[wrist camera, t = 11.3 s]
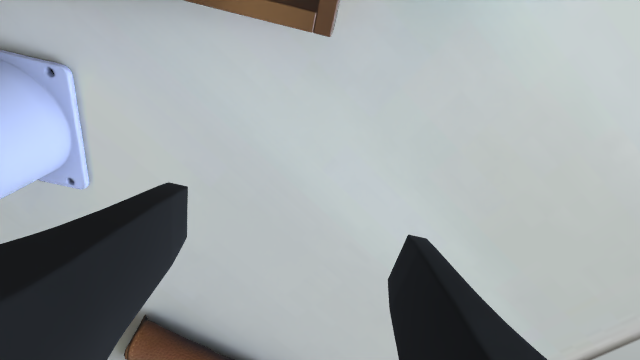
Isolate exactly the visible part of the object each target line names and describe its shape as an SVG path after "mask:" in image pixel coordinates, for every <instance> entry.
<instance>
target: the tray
mask: <svg viewBox="0 0 640 360" xmlns="http://www.w3.org/2000/svg"><path fill="white" fill-rule="evenodd" d="M184 1H188V2H192V3H196V4H200V5H204V6H208V7H212V8H216V9H220V10H224V11H228V12H232V13H236V14H240V15H244V16H248V17H252V18H256V19H260V20H264V21H268V22H272V23H276V24H280V25H284V26H288V27H292V28H296V29H300V30H304V31H308V32H313V33H316V34H320V35H324V36H328V37H330V36H331V35H332V33H333V30H334V25H335V21H336V16H337V12H338V7H339V3H340V0H184Z"/></svg>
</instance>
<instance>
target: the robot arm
mask: <svg viewBox="0 0 640 360" xmlns="http://www.w3.org/2000/svg"><path fill="white" fill-rule="evenodd" d="M51 69H52V70H53V71H54V75H53V74H52V72H51ZM71 179H72V180H71ZM36 180H40V181H44V182H49V183H53V184H58V185H63V186H67V187H72V188H77V189H84V188H86V187H87V186H88V185H89V177H88V170H87V164H86V157H85V151H84V144H83V138H82V131H81V125H80V118H79V112H78V106H77V99H76V93H75V86H74V80H73V74H72V72H71V70H70V69H69V68H68V67H67V66H65V65H63V64H59V63H55V62H51V61H47V60H42V59H38V58H34V57H30V56H25V55H21V54H17V53H13V52H8V51H4V50H0V199H2V198H3V197H5V196H7V195H9V194H11V193H13V192H15V191H17V190H19V189H21V188H22V187H24V186H26V185H28V184H30V183H32V182H34V181H36ZM187 196H188V187H187V186H182V185H178V184H173V183H165V184H163V185H160V186H157V187H155V188H152V189H150V190H148V191H145V192H143V193H141V194H138V195H136V196H133V197H131V198H129V199H126V200H124V201H122V202H119V203H117V204H114V205H112V206H110V207H107V208H105V209H102V210H100V211H97V212H94V213H92V214H89V215H86V216H84V217H81V218H78V219H76V220H73V221H70V222H68V223H65V224H62V225H60V226H57V227H54V228H51V229H48V230H45V231H42V232H39V233H36V234H33V235H30V236H26V237H23V238H20V239H16V240H13V241H10V242H6V243H3V244H0V360H107V359H108V357H109V356H110V354H111V352H112V351H113V349H114V347H115V345H116V344H117V342H118V341H119V339H120V338H121V336H122V335H123V333H124V332H125V330H126V329H127V327H128V326H129V324H130V323H131V322H132V320H133V319H134V318H135V316H136V315H137V313H138V312H139V311H140V309H141V308H142V306H143V305H144V304H145V302H146V301H147V299H148V298H149V297H150V295H151V294H152V293H153V291H154V290H155V288H156V287H157V286H158V284H159V283H160V281H161V280H162V278H163V277H164V276H165V274H166V273H167V271H168V270H169V269H170V267H171V266H172V264H173V262H174V260H175V259H176V257H177V255H178V253H179V251H180V249H181V248H182V246H183V244H184V242H185V240H186V238H187ZM388 291H389V307H390V314H391V319H392V325H393V330H394V335H395V341H396V346H397V351H398V356H399V360H547V359H546V358H545V357H544V356H542V355H541V354H540V353H539V352H538V351H537V350H536V349H535V348H533V347H532V346H531V345H530V344H529V343H528V342H527V341H526V340H524V339H523V338H522V337H521V336H520V335H519V334H518V333H517V332H515V331H514V330H513V329H512V328H511V327H510V326H509V325H508V324H507V323H506V322H505V321H504V320H503V319H502V318H501V317H500V316H499V315H498V314H497V313H496V312H495V311H494V310H493V309H492V308H491V307H490V306H489V305H488V304H487V303H486V302H485V301H484V300H483V299H482V298H481V297H480V296H479V295H478V294H477V293H476V292H475V291H474V290H473V289H472V288H471V287H470V285H469V284H468V283H467V282H466V281H465V280H464V279H463V278H462V277H461V276H460V275H459V273H458V272H457V271H456V270H455V269H454V268H453V267H452V266H451V265H450V263H449V262H448V261H447V260H446V259H445V258H444V257H443V256H442V254H441V253H440V252H439V251H438V250H437V249H436V248H435V247H434V246H433V245H432V244H431V243H430V242H429V241H428V240H427V239H426V238H421V237H417V236H412V235H408V236H407V238H406V241H405V243H404V245H403V247H402V250H401V252H400V254H399V256H398V258H397V261H396V263H395V265H394V267H393V269H392V272H391V274H390V276H389V278H388Z"/></svg>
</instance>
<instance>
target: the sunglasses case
mask: <svg viewBox="0 0 640 360" xmlns="http://www.w3.org/2000/svg"><path fill="white" fill-rule="evenodd" d="M124 356H125V359H127V360H233V359H231V358H228V357H226V356H223V355H220V354H218V353H216V352H214V351H212V350H211V349H209V348H207V347H205V346H203V345H200V344H198V343H196V342H193V341H191V340H189V339H187V338H184V337H182V336H180V335H178V334H176V333H174V332H172V331H170V330H167V329H165V328H163V327H161V326H159V325H158V324H156V323H154V322H152V321H148V318H147V316H146V315H145V316H144V318H143V319H142V321H141V323H140V325H139V327H138V328H137V330H136V332H135V334H134V335H133V337H132V339H131V341H130V343H129V344H128V346H127V348H126V350H125V353H124Z"/></svg>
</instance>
